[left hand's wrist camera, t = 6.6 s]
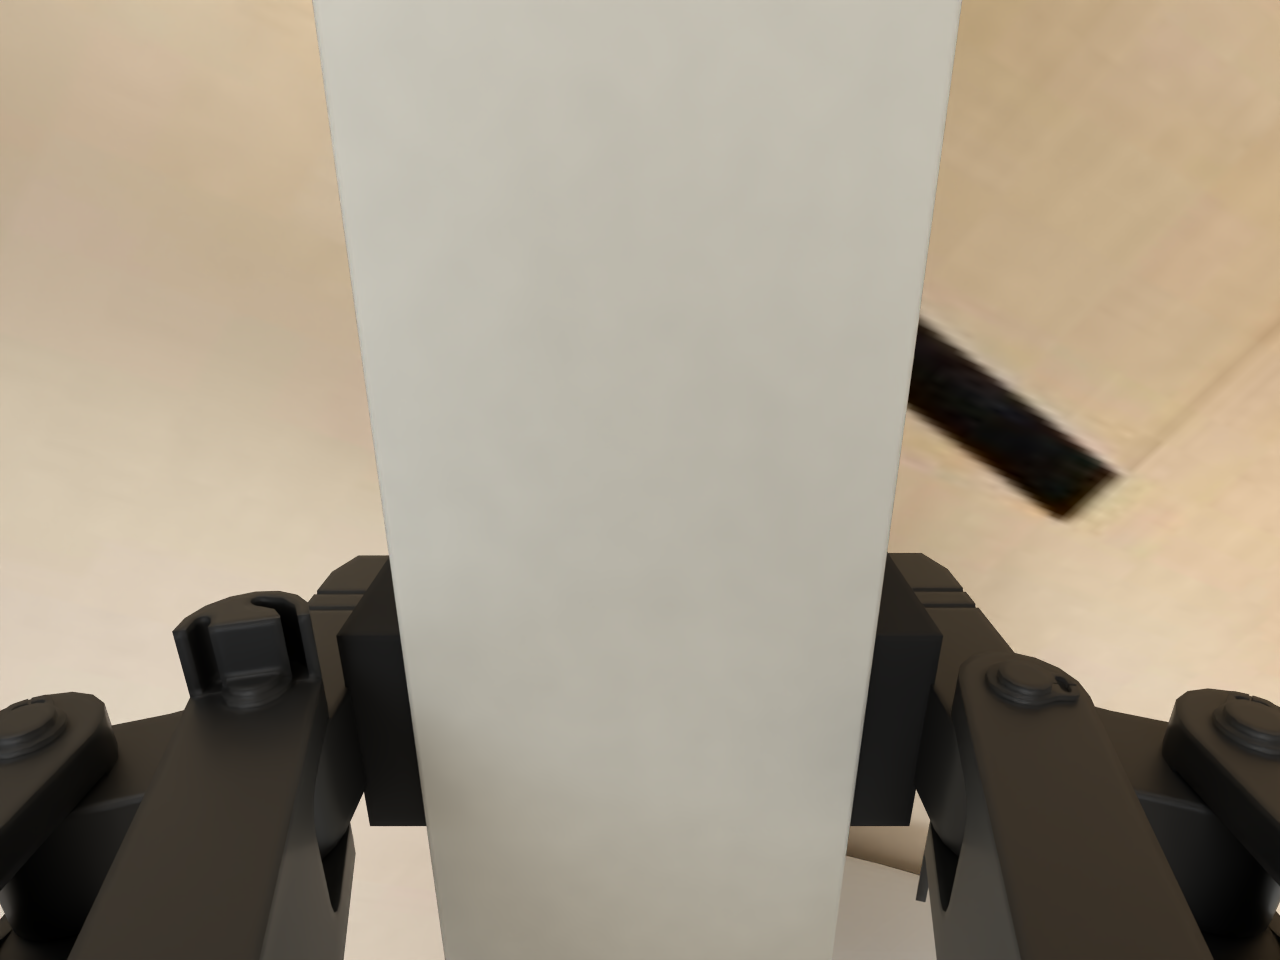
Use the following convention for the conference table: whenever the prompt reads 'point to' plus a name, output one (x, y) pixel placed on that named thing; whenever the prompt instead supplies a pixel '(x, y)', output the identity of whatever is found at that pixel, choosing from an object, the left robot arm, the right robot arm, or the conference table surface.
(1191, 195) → the conference table surface
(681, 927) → the bar
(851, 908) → the projector
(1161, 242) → the conference table surface
